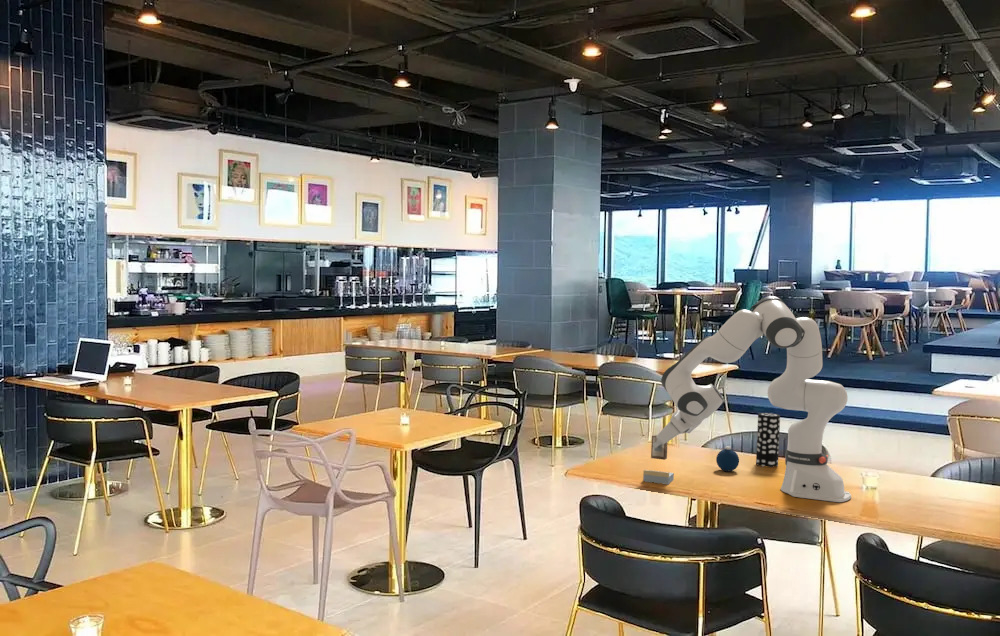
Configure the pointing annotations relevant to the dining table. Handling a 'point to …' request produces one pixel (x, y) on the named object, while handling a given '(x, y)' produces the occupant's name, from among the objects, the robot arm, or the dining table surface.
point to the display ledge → (658, 476)
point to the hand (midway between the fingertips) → (655, 445)
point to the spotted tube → (768, 439)
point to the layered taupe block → (658, 450)
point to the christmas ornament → (727, 459)
